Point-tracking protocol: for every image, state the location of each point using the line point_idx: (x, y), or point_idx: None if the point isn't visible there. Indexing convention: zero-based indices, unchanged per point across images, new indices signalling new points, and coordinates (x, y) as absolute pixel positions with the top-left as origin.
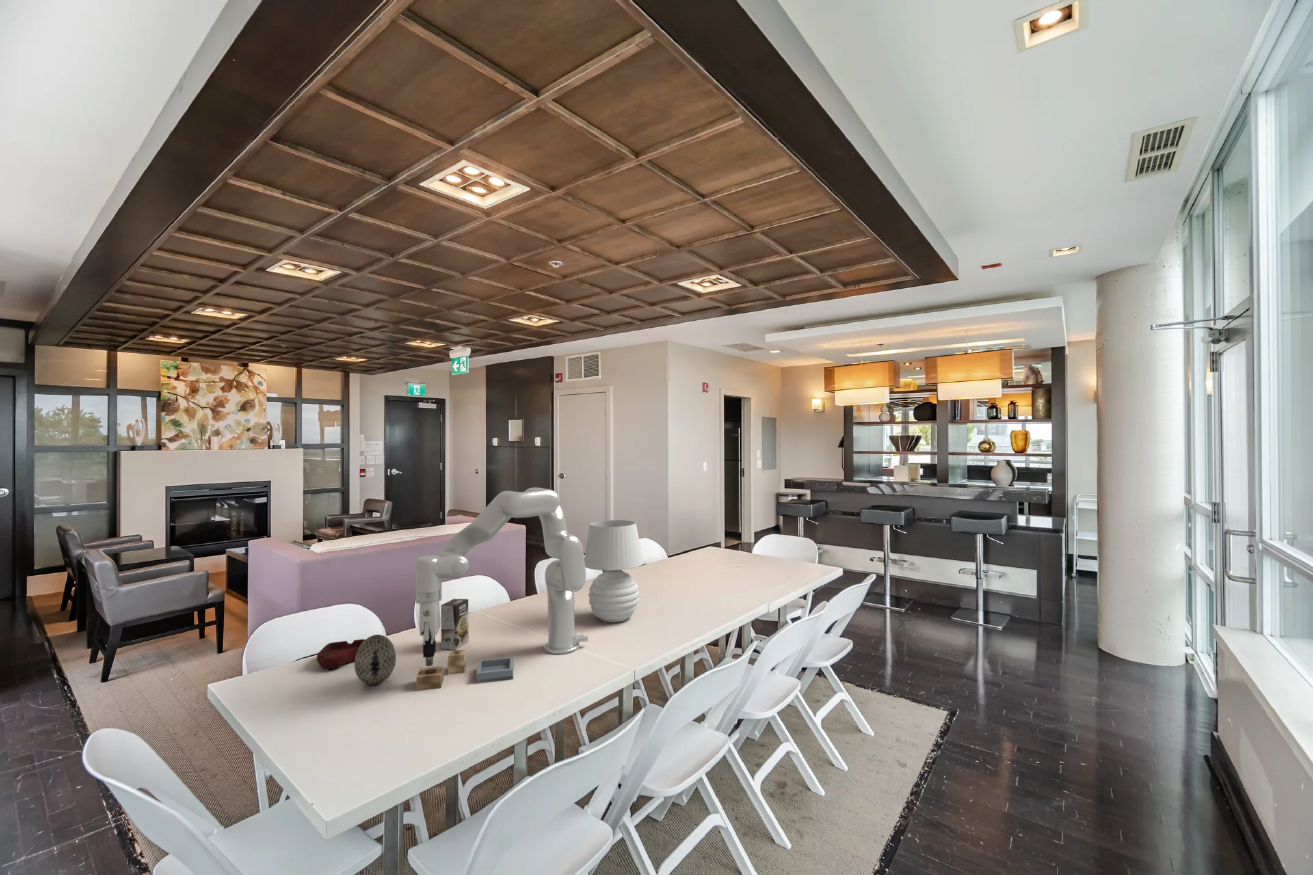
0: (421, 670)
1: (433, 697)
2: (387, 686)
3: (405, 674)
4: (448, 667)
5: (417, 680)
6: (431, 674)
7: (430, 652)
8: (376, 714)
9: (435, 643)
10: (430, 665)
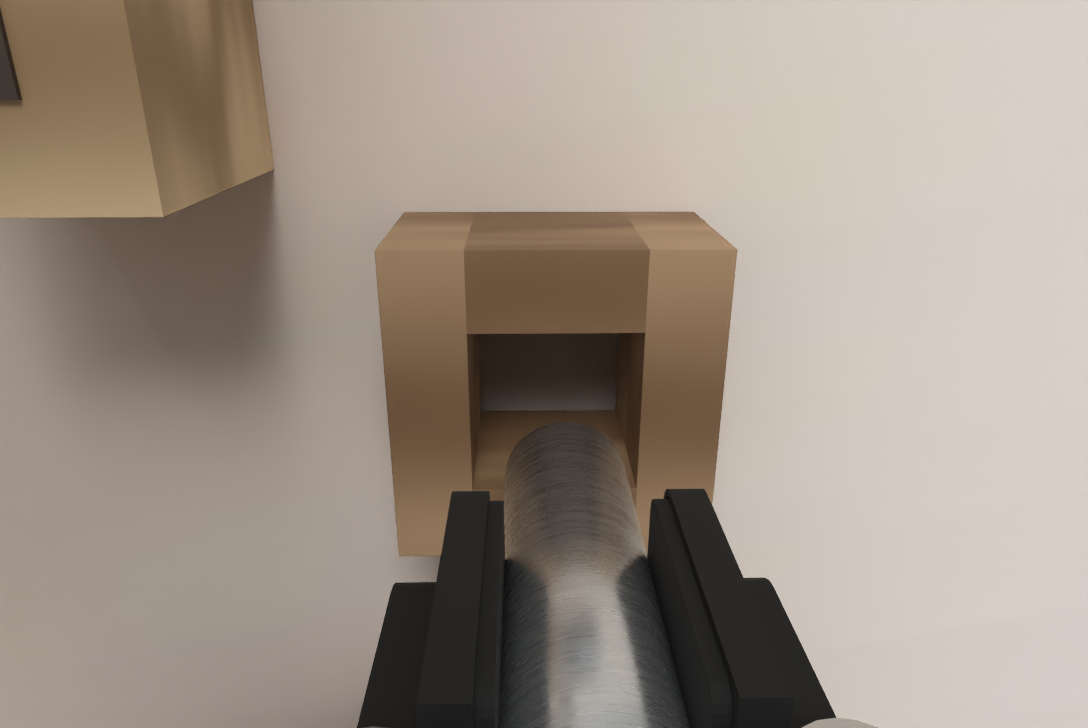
0: None
1: (939, 262)
2: None
3: (199, 634)
4: (238, 178)
5: None
6: (670, 382)
7: (783, 609)
8: (1064, 687)
9: (450, 625)
10: (618, 455)
